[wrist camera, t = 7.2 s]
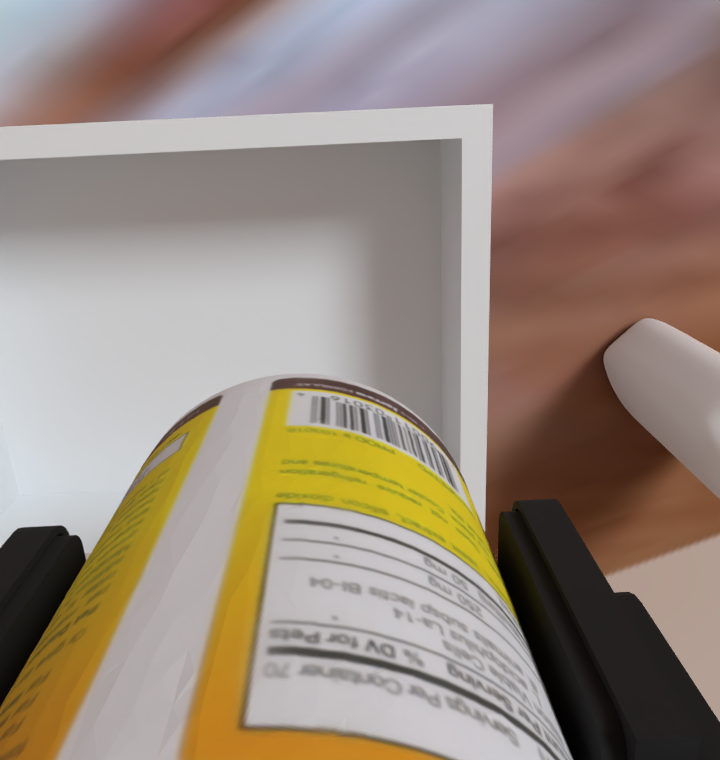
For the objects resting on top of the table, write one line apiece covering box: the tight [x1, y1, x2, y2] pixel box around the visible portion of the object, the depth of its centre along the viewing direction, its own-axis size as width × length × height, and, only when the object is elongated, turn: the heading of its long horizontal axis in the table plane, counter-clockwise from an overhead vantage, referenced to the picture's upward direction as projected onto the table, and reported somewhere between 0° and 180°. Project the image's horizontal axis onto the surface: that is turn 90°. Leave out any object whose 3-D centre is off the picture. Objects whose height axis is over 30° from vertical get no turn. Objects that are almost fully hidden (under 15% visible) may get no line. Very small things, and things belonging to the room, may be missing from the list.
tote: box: [0, 104, 493, 561], centre depth 22 cm, size 18×14×5 cm
